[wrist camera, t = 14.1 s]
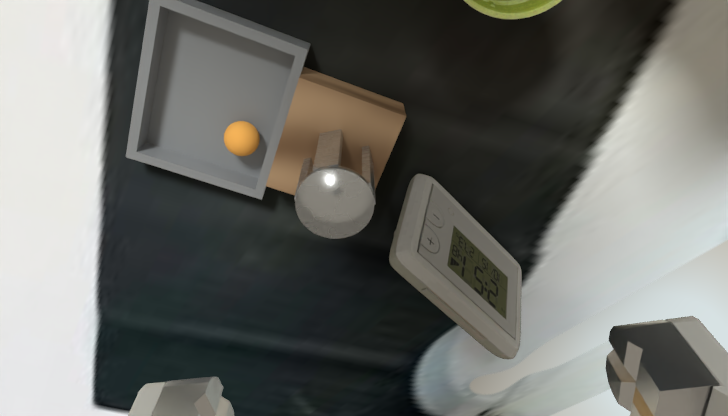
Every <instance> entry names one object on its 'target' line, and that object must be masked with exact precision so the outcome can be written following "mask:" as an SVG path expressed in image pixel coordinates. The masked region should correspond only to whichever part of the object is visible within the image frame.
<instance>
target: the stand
mask: <svg viewBox="0 0 728 416" xmlns="http://www.w3.org/2000/svg"><path fill="white" fill-rule="evenodd" d="M405 119H406V113H405V109H404V105H403V103H400V102H398V101H395V100H392V99H390V98H387V97H384V96H381V95H379V94H376V93H373V92H371V91H368V90H365V89H362V88H360V87H357V86H354V85H352V84H349V83H346V82H343V81H341V80H338V79H335V78H333V77H330V76H327V75H325V74H322V73H319V72H316V71H314V70H311V69H308V68H306V67H303V70H302V72H301V75H300V77H299V80H298V83H297V86H296V90H295V93H294V96H293V99H292V102H291V106H290V109H289V112H288V115H287V119H286V122H285V125H284V128H283V132H282V135H281V138H280V141H279V144H278V148H277V151H276V154H275V157H274V161H273V164H272V167H271V170H270V174H269V177H268V180H267V183H266V186H267V187H270V188H273V189H276V190H279V191H282V192H286V193H289V194H292V195H295V193H296V189H297V185H298V181H299V177H300V173H301V169H302V165H303V161H304V159H307V158H311V160H312V163H313V165H314V160H315V155H316V151H317V146H318V141H319V136H320V133H325V132H329V131H334V130H339V129H341V130H342V134H343V142H342V154H341V166H342V167H347V168H349V169H352V170H354V171H356V172H357V173H359V174H360V175H362V147H364V146H369V148H370V152H371V156H372V161H373V165H374V182H375V188H376V186H377V184H378V181H379V179H380V177H381V175H382V172H383V170H384V168H385V165H386V163H387V161H388V158H389V156H390V154H391V151H392V149H393V147H394V144H395V142H396V140H397V137H398V135H399V133H400V130H401V128H402V126H403V123H404V121H405Z"/></svg>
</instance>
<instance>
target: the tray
mask: <svg viewBox="0 0 728 416" xmlns="http://www.w3.org/2000/svg"><path fill="white" fill-rule="evenodd" d="M310 45H311V43H308V42H305V41H303V40H300V39H298V38H295V37H292V36H290V35H287V34H284V33H282V32H279V31H276V30H274V29H271V28H269V27H266V26H263V25H261V24H258V23H255V22H253V21H250V20H247V19H245V18H242V17H239V16H237V15H234V14H232V13H229V12H226V11H224V10H221V9H218V8H216V7H213V6H210V5H208V4H205V3H202V2H200V1H197V0H149V6H148V13H147V20H146V26H145V33H144V39H143V46H142V53H141V59H140V66H139V72H138V79H137V85H136V92H135V99H134V105H133V112H132V118H131V125H130V132H129V138H128V145H127V151H126V157H127V158H130V159H134V160H137V161H140V162H143V163H146V164H149V165H153V166H156V167H159V168H162V169H165V170H169V171H172V172H175V173H178V174H181V175H184V176H188V177H191V178H194V179H197V180H200V181H204V182H207V183H210V184H213V185H216V186H219V187H223V188H226V189H229V190H232V191H235V192H239V193H242V194H245V195H248V196H251V197H254V198H258V199H261V200H262V198H263V195H264V192H265V190H266V187H267V186H266V183H267V180H268V177H269V174H270V170H271V167H272V164H273V161H274V157H275V154H276V151H277V148H278V144H279V141H280V138H281V135H282V132H283V128H284V125H285V122H286V119H287V115H288V112H289V109H290V106H291V102H292V99H293V96H294V93H295V90H296V86H297V83H298V80H299V77H300V75H301V72H302V70H303V67H304V64H305V61H306V58H307V55H308V52H309V48H310ZM237 121H246V122H249V123H251V124H252V125H253V126H254V127H255V128H256V129H257V131H258V133H259V137H260V142H259V145H258V148H257V149H256V150H255V151H254V152H253V153H252V154H250V155H247V156H237V155H235V154H233V153H231V152H230V151H229V150H228V149H227V147H226V146H225V143H224V133H225V130H226V129H227V127H228V126H229V125H230V124H232V123H234V122H237Z"/></svg>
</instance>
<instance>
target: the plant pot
mask: <svg viewBox="0 0 728 416" xmlns="http://www.w3.org/2000/svg"><path fill="white" fill-rule="evenodd" d="M464 1H465V2H466V3H467V4H468V5H469V6H471V7H472V8H474V9H475V10H477V11H479V12H481V13H483V14H485V15H488V16H491V17H495V18H500V19H521V18H527V17H531V16H534V15H537V14H540V13H542V12H544V11H547V10H548V9H550V8H552V7H553V6H555V5H556V4H558V3H559V2H560V1H562V0H464Z"/></svg>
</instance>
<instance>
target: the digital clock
mask: <svg viewBox="0 0 728 416" xmlns="http://www.w3.org/2000/svg"><path fill="white" fill-rule="evenodd" d="M393 234H394V238H393V242H392V246H391V250H390V255H389V261H390V264H391V266H392V267H393V268H394V269H395V270H396V271H397V272H398V273H399V274H400V275H401V276H402V277H404V278H405V279H406V280H407V281H408V282H409V283H410V284H411V285H413V286H414V287H415V288H416V289H417V290H418V291H420V292H421V293H422V294H423V295H424V296H425V297H427V298H428V299H429V300H430V301H431V302H432V303H433V304H435V305H436V306H437V307H438V308H439V309H440V310H442V311H443V312H444V313H445V314H446V315H447V316H449V317H450V318H451V319H452V320H453V321H454V322H456V323H457V324H458V325H459V326H460V327H461V328H463V329H464V330H465V331H466V332H467V333H468V334H469V335H471V336H472V337H473V338H474V339H475V340H476V341H478V342H479V343H480V344H481V345H482V346H484V347H485V348H486V349H487V350H488V351H490V352H491V353H492V354H494V355H496V356H498V357H500V358H503V359H513V358H514V357H515V355H516V353H517V351H518V349H519V346H520V333H521V286H522V272H521V267H520V265H519V264H518V263H517V261H516V260H515V259H514V258H513V257H512V256H511V255H510V254H509V253H508V252H507V251H506V250H505V249H504V248H503V247H502V246H501V245H500V244H499V243H498V242H497V241H496V240H495V239H494V238H493V237H492V236H491V235H490V234H489V233H488V232H487V231H486V230H485V229H484V228H483V227H482V226H481V225H480V224H479V223H478V222H477V221H476V220H475V219H474V218H473V217H472V216H471V215H470V214H469V213H468V212H467V211H466V210H465V209H464V208H463V207H462V206H461V205H460V204H459V203H458V202H457V201H456V200H455V199H454V198H453V197H452V196H451V195H450V194H449V193H448V192H447V191H446V190H445V189H444V188H443V187H442V186H441V185H440V184H439V183H438V182H437V181H436V180H435V179H434V178H432V177H430V176H427V175H423V174H417V175H415V176H414V177H413V178H412V179H411V181H410V183H409V186H408V189H407V192H406V196H405V199H404V203H403V206H402V210H401V213H400V217H399V220H398V224H397V228H396V230H395V231H394V233H393Z"/></svg>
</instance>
